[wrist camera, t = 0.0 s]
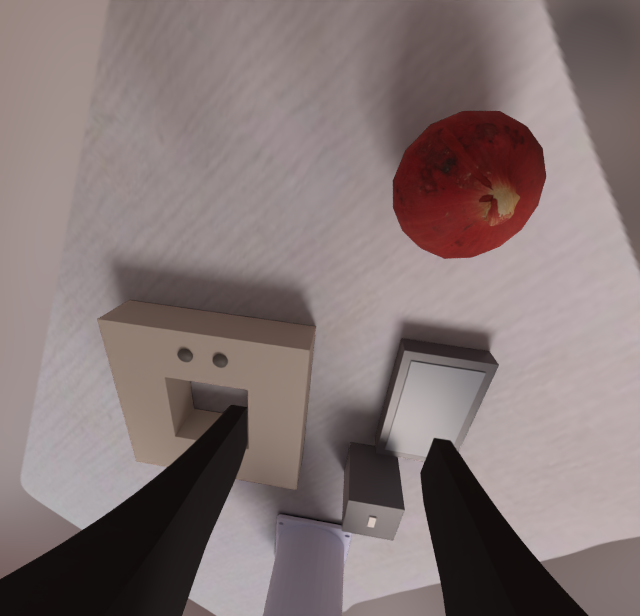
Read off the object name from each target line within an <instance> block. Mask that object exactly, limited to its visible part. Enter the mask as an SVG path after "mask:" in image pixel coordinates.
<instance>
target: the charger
mask: <svg viewBox="0 0 640 616" xmlns="http://www.w3.org/2000/svg"><path fill="white" fill-rule="evenodd" d="M404 511H405V509H404V501H403V494H402V486H401V479H400V471H399V463H398V457H394V456H388V455H383V454H377V453H376V447H375V446H370V445H364V444H358V443H352V442H350V447H349V452H348V456H347V461H346V466H345V471H344V490H343V512H342V531H343V532H349V533H354V534H360V535H365V536H371V537H376V538H381V539H387V540H392V541H393V540H394V537H395V535H396V532H397V529H398V527H399V524H400V521H401V519H402V516H403V513H404Z"/></svg>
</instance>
